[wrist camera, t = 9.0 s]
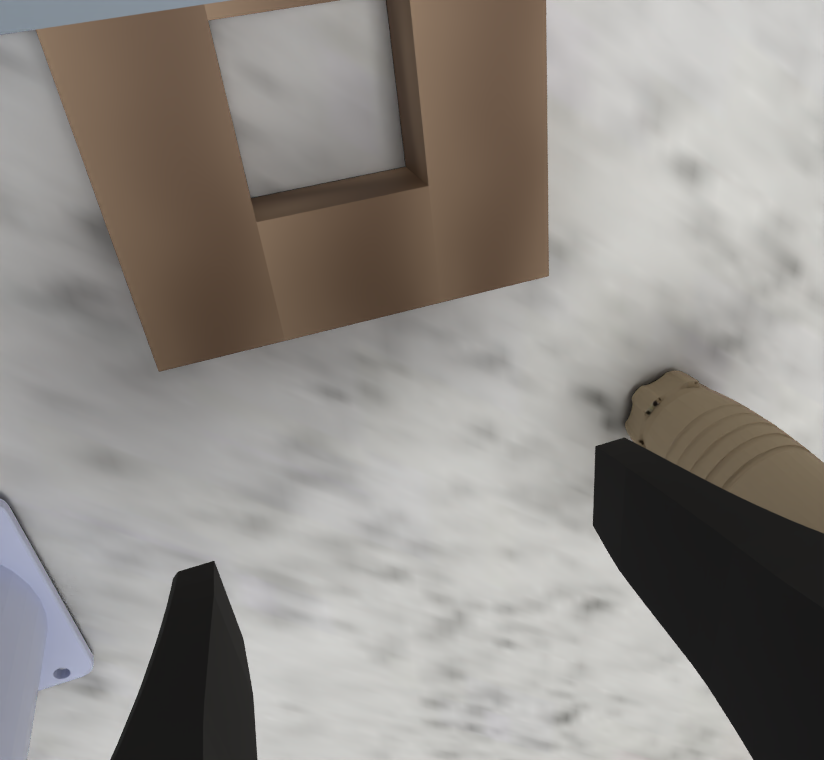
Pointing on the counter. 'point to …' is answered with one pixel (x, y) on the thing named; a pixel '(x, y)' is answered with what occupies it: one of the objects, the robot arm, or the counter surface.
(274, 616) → the counter surface
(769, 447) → the handle
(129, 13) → the socket block
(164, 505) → the counter surface
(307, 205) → the mount block
